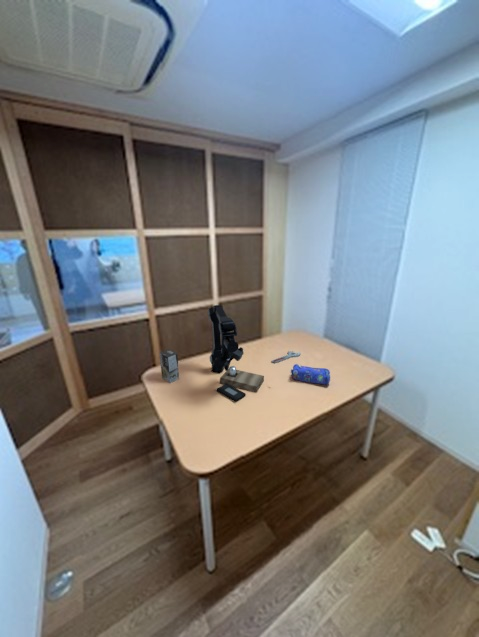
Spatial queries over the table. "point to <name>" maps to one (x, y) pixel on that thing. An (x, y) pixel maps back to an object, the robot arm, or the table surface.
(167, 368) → the coffee box
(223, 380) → the hitch block
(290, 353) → the adjustable wrench
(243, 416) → the table surface
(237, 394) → the vhs tape
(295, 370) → the pencil case
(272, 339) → the table surface
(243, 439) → the table surface
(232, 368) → the steel peg
